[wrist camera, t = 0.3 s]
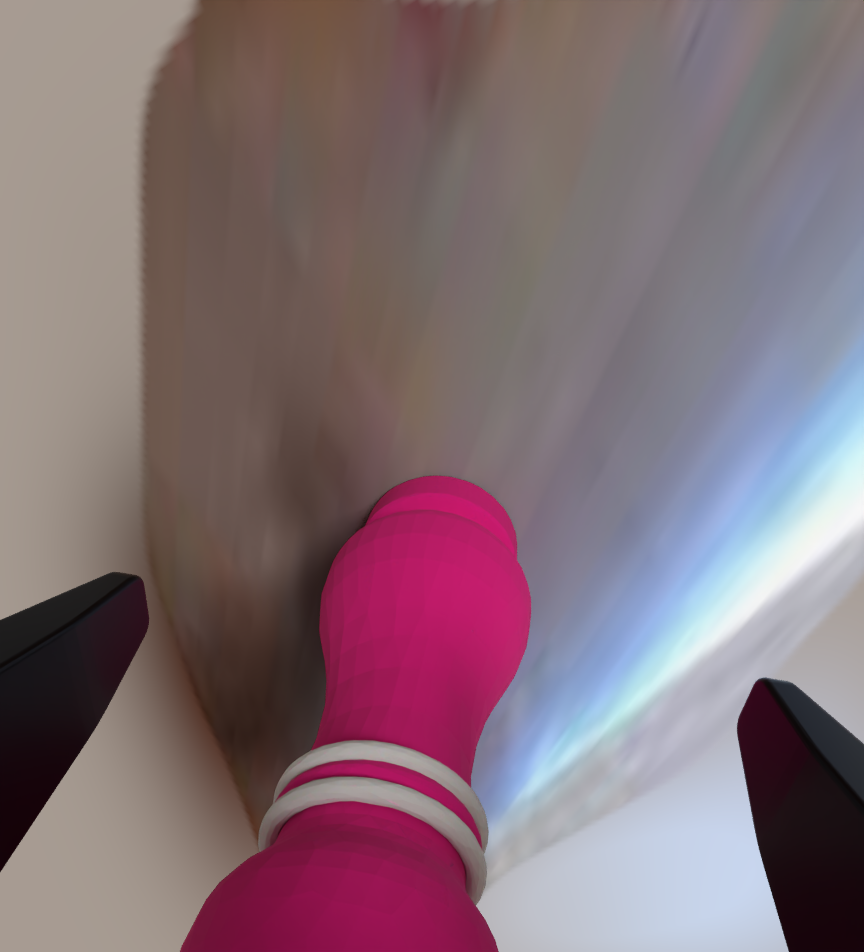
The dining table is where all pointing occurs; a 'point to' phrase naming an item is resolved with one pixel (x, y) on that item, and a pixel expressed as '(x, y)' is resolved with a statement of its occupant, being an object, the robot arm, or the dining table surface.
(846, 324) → the dining table surface
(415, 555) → the pepper mill
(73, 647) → the robot arm
